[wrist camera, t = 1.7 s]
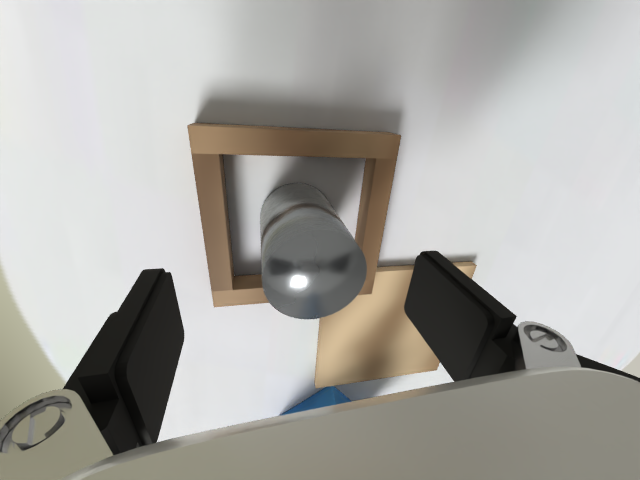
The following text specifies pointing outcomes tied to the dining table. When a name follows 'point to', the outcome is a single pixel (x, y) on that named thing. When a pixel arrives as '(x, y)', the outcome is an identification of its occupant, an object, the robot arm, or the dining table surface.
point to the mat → (375, 334)
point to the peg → (307, 254)
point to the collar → (284, 141)
